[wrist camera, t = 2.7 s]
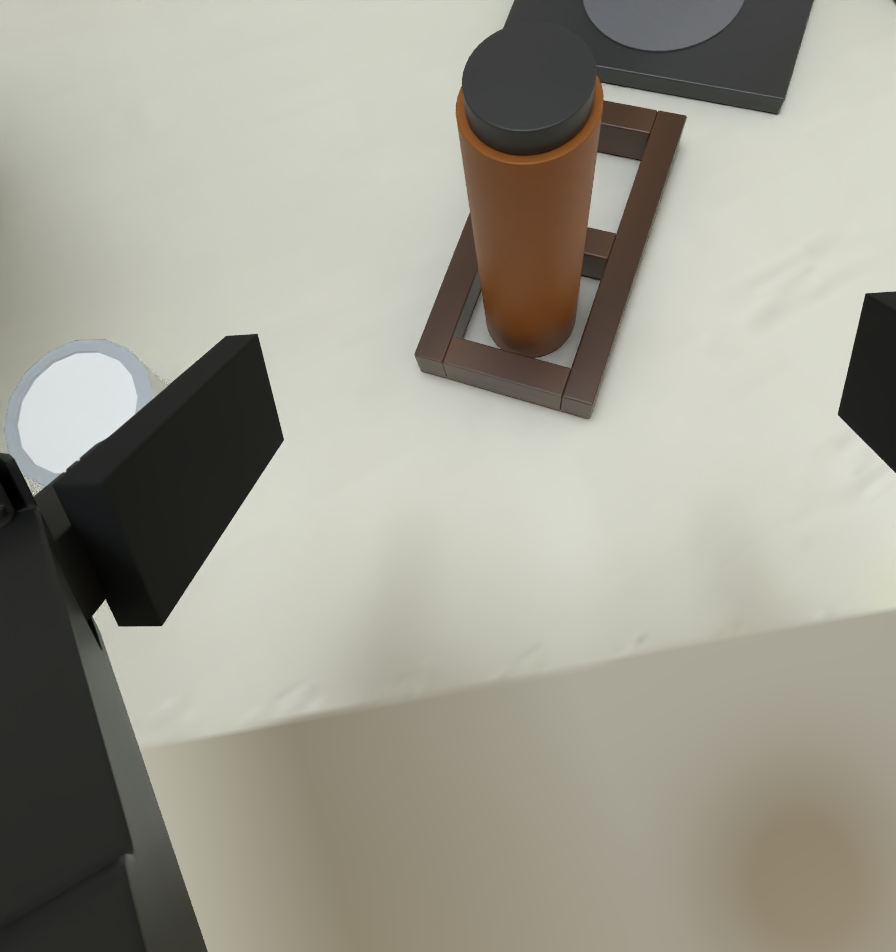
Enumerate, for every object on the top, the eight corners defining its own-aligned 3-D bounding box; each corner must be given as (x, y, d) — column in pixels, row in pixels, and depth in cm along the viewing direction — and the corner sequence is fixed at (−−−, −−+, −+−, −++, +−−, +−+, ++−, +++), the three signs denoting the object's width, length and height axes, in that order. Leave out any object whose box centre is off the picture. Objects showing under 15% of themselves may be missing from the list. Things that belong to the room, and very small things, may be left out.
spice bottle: (474, 344, 34) (430, 123, 19) (502, 268, 35) (480, 2, 20) (559, 368, 33) (580, 154, 18) (586, 289, 34) (626, 26, 19)
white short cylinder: (221, 383, 35) (147, 321, 28) (232, 505, 33) (155, 470, 27) (102, 409, 36) (2, 355, 29) (106, 531, 34) (0, 503, 27)
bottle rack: (420, 371, 34) (413, 354, 32) (520, 112, 37) (519, 83, 35) (589, 419, 32) (592, 405, 30) (678, 144, 35) (687, 115, 33)
